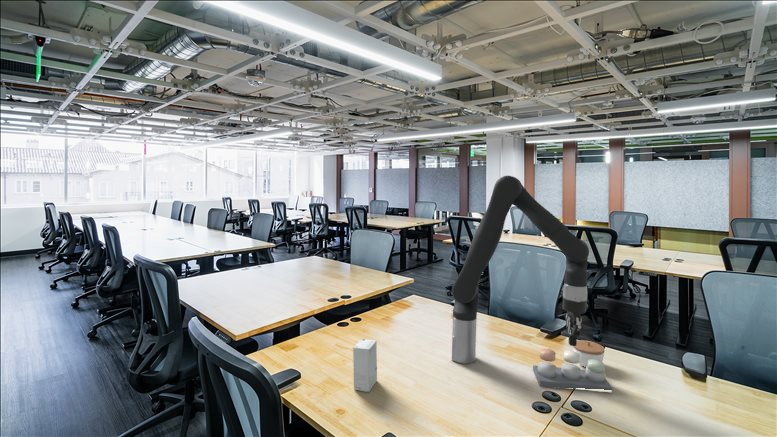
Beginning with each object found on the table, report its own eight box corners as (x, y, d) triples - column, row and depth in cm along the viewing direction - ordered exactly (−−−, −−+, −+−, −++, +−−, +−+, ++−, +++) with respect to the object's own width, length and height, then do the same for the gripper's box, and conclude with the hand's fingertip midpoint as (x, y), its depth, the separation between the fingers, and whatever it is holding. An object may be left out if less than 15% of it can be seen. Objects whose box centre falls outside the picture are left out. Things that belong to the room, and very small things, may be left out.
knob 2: (590, 372, 126) (590, 365, 125) (585, 365, 131) (585, 358, 130) (606, 373, 125) (606, 367, 125) (600, 366, 130) (600, 360, 129)
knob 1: (541, 360, 128) (542, 354, 128) (538, 354, 133) (538, 348, 133) (556, 362, 127) (557, 355, 127) (553, 355, 132) (553, 349, 132)
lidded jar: (568, 357, 148) (569, 334, 147) (597, 360, 146) (598, 337, 145) (576, 370, 137) (577, 346, 136) (607, 373, 135) (609, 349, 134)
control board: (539, 386, 126) (540, 372, 126) (532, 370, 137) (533, 357, 137) (612, 393, 122) (613, 379, 122) (599, 376, 133) (600, 363, 132)
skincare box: (369, 393, 122) (369, 350, 120) (352, 389, 123) (352, 347, 122) (377, 380, 130) (377, 339, 128) (361, 377, 131) (361, 337, 130)
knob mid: (565, 362, 127) (566, 356, 127) (561, 356, 132) (562, 349, 132) (581, 364, 126) (581, 357, 126) (576, 357, 131) (577, 351, 131)
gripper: (558, 291, 134) (555, 336, 135) (569, 302, 121) (566, 352, 123) (580, 292, 133) (577, 338, 134) (593, 303, 120) (590, 354, 121)
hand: (572, 345), depth 128 cm, fingers closed
